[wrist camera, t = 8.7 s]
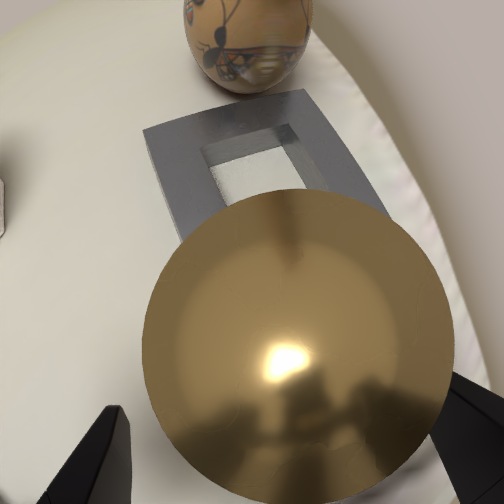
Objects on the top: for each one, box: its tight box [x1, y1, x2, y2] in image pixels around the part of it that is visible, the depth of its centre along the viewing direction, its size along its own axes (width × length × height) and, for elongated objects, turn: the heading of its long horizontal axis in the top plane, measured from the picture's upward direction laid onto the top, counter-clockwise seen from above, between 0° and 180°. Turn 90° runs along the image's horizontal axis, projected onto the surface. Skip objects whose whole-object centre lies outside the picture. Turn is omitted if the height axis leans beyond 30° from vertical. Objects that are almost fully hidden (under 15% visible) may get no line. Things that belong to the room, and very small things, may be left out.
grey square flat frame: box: [143, 89, 392, 243], centre depth 20 cm, size 12×12×2 cm
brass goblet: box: [142, 189, 454, 504], centre depth 11 cm, size 6×6×13 cm
